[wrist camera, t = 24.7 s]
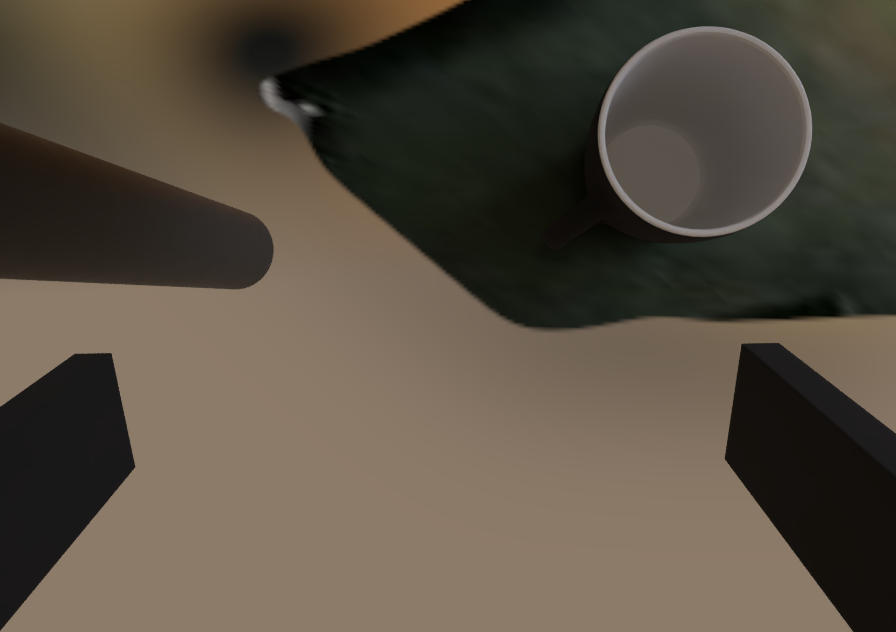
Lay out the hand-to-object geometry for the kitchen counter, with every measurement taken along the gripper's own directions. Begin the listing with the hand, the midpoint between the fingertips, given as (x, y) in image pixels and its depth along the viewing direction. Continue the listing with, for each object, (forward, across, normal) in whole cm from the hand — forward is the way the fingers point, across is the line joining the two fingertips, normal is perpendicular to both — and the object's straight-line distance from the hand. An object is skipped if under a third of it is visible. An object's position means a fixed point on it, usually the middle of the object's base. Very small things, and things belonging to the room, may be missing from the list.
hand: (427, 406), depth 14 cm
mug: (+26, +11, 0) cm, 28 cm away
